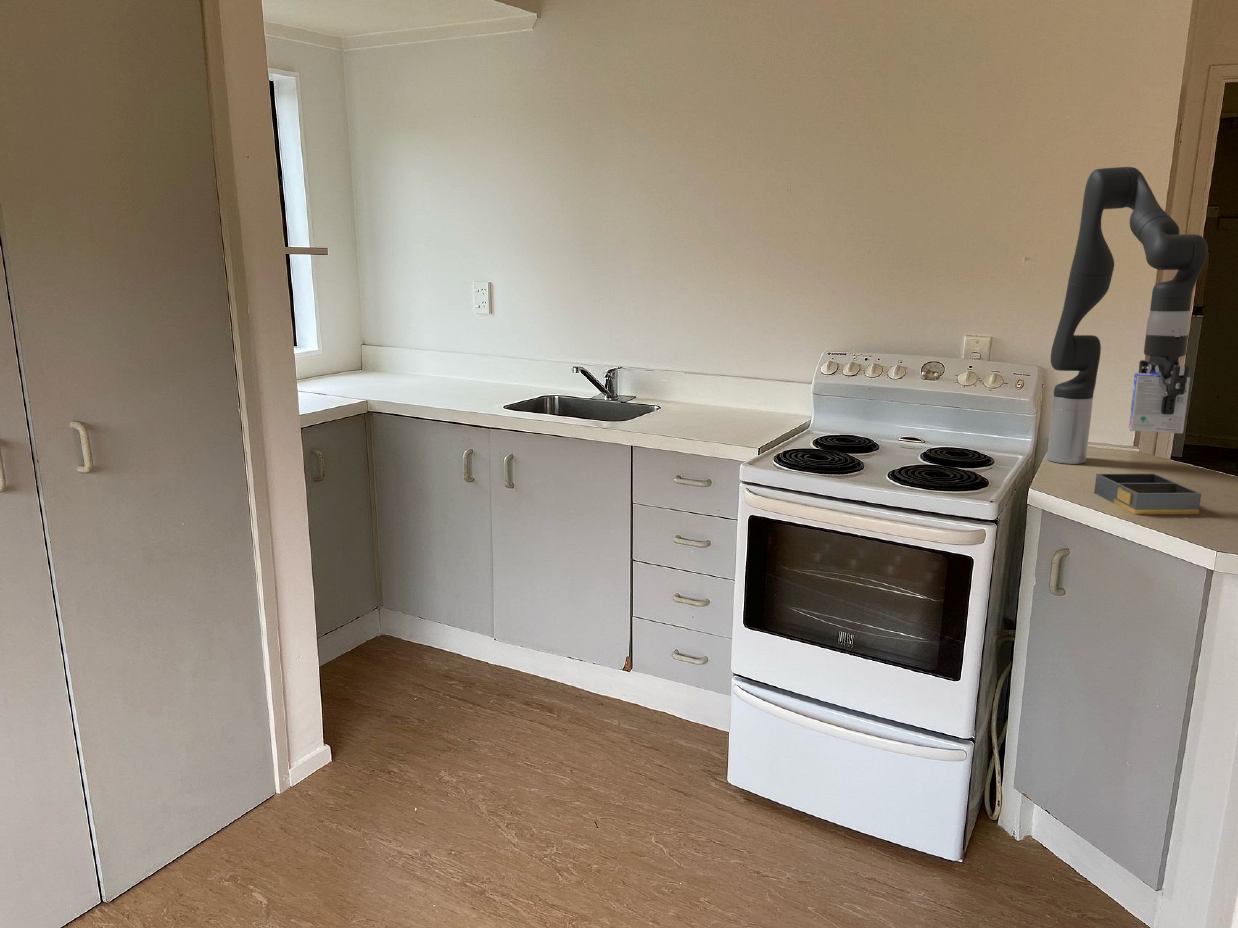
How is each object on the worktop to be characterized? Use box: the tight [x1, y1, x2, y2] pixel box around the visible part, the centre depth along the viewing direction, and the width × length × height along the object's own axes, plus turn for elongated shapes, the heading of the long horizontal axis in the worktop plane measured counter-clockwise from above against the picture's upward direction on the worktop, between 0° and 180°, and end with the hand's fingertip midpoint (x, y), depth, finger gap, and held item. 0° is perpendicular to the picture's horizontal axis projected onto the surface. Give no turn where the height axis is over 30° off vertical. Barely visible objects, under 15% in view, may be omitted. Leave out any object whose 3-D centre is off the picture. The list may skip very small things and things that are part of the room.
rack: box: [1093, 473, 1202, 515], centre depth 185 cm, size 17×13×4 cm
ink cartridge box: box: [1128, 370, 1192, 434], centre depth 180 cm, size 10×6×14 cm, turn 66°
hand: (1157, 411), depth 180 cm, fingers closed on ink cartridge box, 6 cm apart
